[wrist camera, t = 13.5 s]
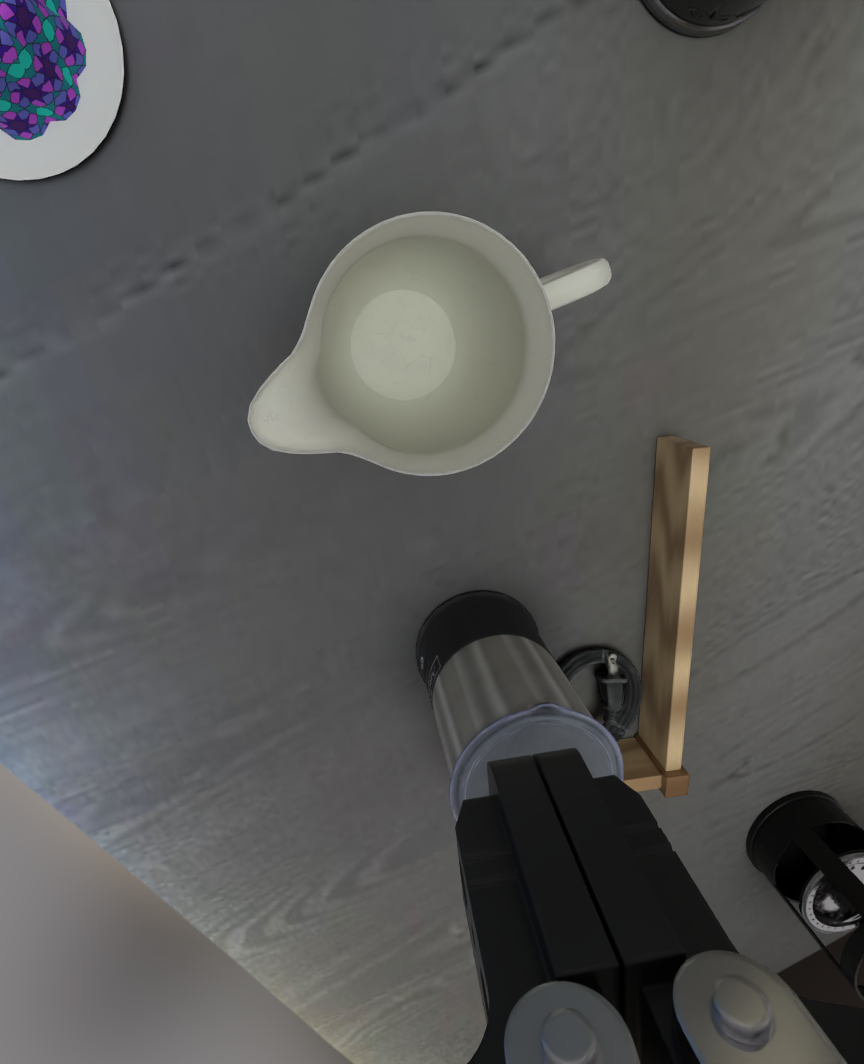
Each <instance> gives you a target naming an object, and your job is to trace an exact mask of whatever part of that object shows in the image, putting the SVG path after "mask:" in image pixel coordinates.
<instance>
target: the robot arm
mask: <svg viewBox="0 0 864 1064" xmlns="http://www.w3.org/2000/svg"><path fill="white" fill-rule="evenodd" d="M643 1H644V3H645V5H646V6H647V7H648V9H649V10H650V11H651V12H652V14H653V15H654V16H655V17H656V18H657V19H658V20H660V21H661V22H662V23H663V24H665V25H666V26H668V27H669V28H671V29H673V30H675V31H677V32H679V33H682V34H685V35H689V36H696V37H706V36H713V35H718V34H721V33H724V32H727V31H729V30H731V29H733V28H735V27H736V26H738V25H740V24H741V23H742V22H744V21H745V20H747V19H748V18H749V17H750V16H752V15H753V14H754V13H755V12H757V11H758V10H759V9H760V8H761V7H762V6H763V5H764V4H765V3H766V2H767V1H768V0H643ZM487 775H488V787H489V796H484V797H478V798H472V799H466V800H463V802H462V806H461V809H460V813H459V816H458V820H457V823H456V827H455V829H456V838H457V847H458V856H459V865H460V874H461V883H462V892H463V900H464V905H465V911H466V916H467V921H468V927H469V931H470V937H471V942H472V948H473V953H474V958H475V963H476V969H477V974H478V980H479V985H480V990H481V995H482V1001H483V1006H484V1011H485V1017H486V1022H487V1027H486V1030H485V1034H484V1037H483V1039H482V1041H481V1043H480V1045H479V1048H478V1050H477V1051H476V1053H475V1054H474V1056H473V1057H472V1059H471V1060H470V1061H469V1062H468V1063H467V1064H864V1009H863V1008H857V1007H850V1006H844V1005H838V1004H831V1003H825V1002H820V1001H815V1000H810V999H807V998H804V997H801V996H798V995H796V994H795V993H794V992H793V990H792V989H791V988H790V987H789V986H788V984H787V983H785V982H784V981H783V980H782V979H781V978H780V977H779V976H778V975H777V974H776V973H774V972H773V971H772V970H770V969H769V968H768V967H766V966H764V965H763V964H761V963H759V962H758V961H756V960H754V959H751V958H749V957H747V956H745V955H741V954H739V953H738V951H737V950H736V948H735V947H734V945H733V944H732V943H731V941H730V939H729V938H728V936H727V935H726V933H725V931H724V930H723V928H722V927H721V925H720V923H719V922H718V920H717V918H716V917H715V915H714V914H713V912H712V910H711V909H710V907H709V905H708V904H707V902H706V901H705V899H704V897H703V896H702V894H701V893H700V891H699V889H698V888H697V886H696V884H695V883H694V881H693V880H692V878H691V876H690V875H689V873H688V871H687V870H686V868H685V867H684V865H683V863H682V862H681V860H680V858H679V857H678V855H677V854H676V852H675V851H673V850H672V847H671V844H670V842H669V841H668V839H667V837H666V836H665V834H664V833H663V831H662V829H661V828H659V827H658V825H657V821H656V820H655V818H654V816H653V815H652V813H651V812H650V810H649V808H648V807H647V805H646V803H645V802H644V800H643V799H642V797H641V795H639V794H638V793H637V792H636V791H634V790H633V789H632V788H631V787H629V786H628V785H627V784H625V783H624V782H623V781H622V780H620V779H619V778H618V777H617V776H615V775H609V776H603V777H597V778H593V777H592V775H591V773H590V771H589V769H588V767H587V765H586V763H585V762H584V760H583V758H582V756H581V754H580V752H579V751H578V750H577V749H576V748H569V749H563V750H557V751H550V752H544V753H538V754H533V755H532V756H531V755H525V756H519V757H513V758H507V759H501V760H495V761H489V762H487Z"/></svg>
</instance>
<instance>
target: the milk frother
mask: <svg viewBox="0 0 864 1064" xmlns="http://www.w3.org/2000/svg"><path fill="white" fill-rule="evenodd" d="M416 661H417V666H418V670H419V673H420V675H421V677H422V679H423V681H424V682H425V684H426V685H427V689H428V692H429V696H430V701H431V705H432V709H433V712H434V716H435V721H436V725H437V729H438V733H439V737H440V740H441V744H442V748H443V752H444V756H445V760H446V764H447V768H448V772H449V776H450V786H449V799H450V806H451V810H452V814H453V817H454V819H455V821H456V823H457V820H458V816H459V813H460V809H461V806H462V802H463V800H466V799H472V798H478V797H484V796H489V787H488V775H487V762H489V761H495V760H501V759H507V758H513V757H519V756H525V755H531V756H532V755H533V754H538V753H544V752H550V751H557V750H563V749H569V748H576V749H577V750H578V751H579V752H580V754H581V756H582V758H583V760H584V762H585V763H586V765H587V767H588V769H589V771H590V773H591V775H592V777H593V778H597V777H603V776H609V775H615V776H617V777H618V778H619V779H620V780H622V781H623V774H624V768H623V760H622V754H621V752H620V748H619V746H618V744H617V742H618V741H619V740H620V739H621V738H622V737H623V736H624V735H625V733H626V732H627V731H628V730H629V729H630V726H631V725H632V724H633V722H634V720H635V718H636V716H637V714H638V711H639V708H640V704H641V700H642V685H641V680H640V677H639V674H638V671H637V670H636V668H635V666H634V665H633V664H632V663H631V661H630V660H629V659H627V658H626V657H625V656H623V655H621V654H620V653H618V652H615V651H613V650H609V649H602V648H600V649H588V650H584V651H580V652H577V653H575V654H572V655H571V656H569V657H568V658H567V659H566V660H565V661H563V662H562V663H561V664H560V665H559V666H558V664H557V663H556V661H555V660H554V658H553V657H552V655H551V654H550V652H549V651H548V649H547V647H546V646H545V644H544V643H543V641H542V639H541V638H540V636H539V632H538V628H537V625H536V622H535V621H534V619H533V617H532V616H531V614H530V613H529V612H528V610H527V609H526V608H525V607H524V606H523V605H522V604H520V603H519V602H518V601H516V600H515V599H513V598H511V597H509V596H506V595H503V594H500V593H496V592H490V591H479V592H471V593H467V594H463V595H460V596H457V597H455V598H453V599H451V600H449V601H448V602H446V603H444V604H443V605H441V606H440V607H439V608H438V609H436V610H435V611H434V612H433V613H432V614H431V616H430V617H429V618H428V619H427V621H426V622H425V624H424V626H423V628H422V629H421V632H420V634H419V637H418V641H417V646H416ZM597 663H604V664H605V665H606V667H607V670H608V672H605V673H595V677H596V678H597V679H598V680H599V688H600V693H601V697H602V700H601V701H600V704H601V705H602V706H603V707H604V716H603V719H604V721H605V722H604V724H603V725H602V724H601V723H599V722H598V721H597V720H595V719H594V718H593V717H592V715H591V714H590V712H589V711H588V709H587V708H586V706H585V705H584V703H583V702H582V700H581V699H580V697H579V696H578V694H577V693H576V691H575V690H574V688H573V687H572V685H571V684H570V682H569V681H570V680H571V678H572V677H573V676H574V675H575V674H576V673H578V672H579V671H580V670H582V669H583V668H584V667H587V666H589V665H592V664H597ZM623 683H625V694H624V702H623V705H622V704H621V703H622V697H623Z"/></svg>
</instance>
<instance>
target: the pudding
mask: <svg viewBox="0 0 864 1064" xmlns="http://www.w3.org/2000/svg"><path fill="white" fill-rule="evenodd" d="M123 78H124V63H123V47H122V42H121V38H120V33H119V28H118V23H117V20H116V18H115V15H114V12H113V9H112V7H111V4H110V1H109V0H0V178H2V179H10V180H33V179H42V178H46V177H50V176H53V175H57V174H60V173H62V172H64V171H66V170H68V169H70V168H72V167H74V166H76V165H78V164H79V163H80V162H82V161H83V160H84V159H85V158H87V157H88V156H89V155H90V154H91V153H93V152H94V150H95V149H96V148H97V147H98V145H99V144H100V143H101V142H102V140H103V139H104V138H105V137H106V135H107V133H108V131H109V129H110V127H111V125H112V123H113V121H114V119H115V117H116V114H117V110H118V107H119V103H120V100H121V97H122V88H123Z"/></svg>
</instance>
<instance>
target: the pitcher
mask: <svg viewBox="0 0 864 1064" xmlns="http://www.w3.org/2000/svg"><path fill="white" fill-rule="evenodd" d="M611 276H612V274H611V269H610V266H609V263H608V261H606V260H605V259H604V258H598V259H592V260H588V261H585V262H582V263H579V264H576V265H573V266H570V267H568V268H565V269H562V270H560V271H557V272H555V273H552V274H550V275H547V276H545V277H542V278H540V279H539V277H538V275H537V274H536V272H535V270H534V269H533V267H532V266H531V265H530V263H529V262H528V260H527V259H526V258H525V256H524V255H523V254H522V253H521V252H520V251H519V250H518V249H517V248H516V247H515V246H514V245H513V244H512V243H511V242H510V241H509V240H507V239H506V238H505V237H504V236H502V235H501V234H500V233H498V232H497V231H495V230H493V229H492V228H490V227H488V226H487V225H485V224H483V223H480V222H478V221H476V220H473V219H471V218H469V217H465V216H461V215H457V214H453V213H445V212H436V211H430V212H415V213H409V214H404V215H399V216H396V217H393V218H391V219H388V220H385V221H382V222H380V223H378V224H376V225H375V226H373V227H371V228H369V229H367V230H366V231H364V232H363V233H361V234H360V235H359V236H357V237H356V238H354V239H353V240H352V241H351V242H350V243H349V244H348V245H347V246H346V247H345V248H343V249H342V250H341V251H340V252H339V254H338V255H337V256H336V257H335V259H334V260H333V261H332V262H331V264H330V265H329V266H328V268H327V270H326V271H325V273H324V275H323V276H322V278H321V280H320V281H319V284H318V286H317V288H316V291H315V293H314V296H313V298H312V301H311V304H310V308H309V311H308V314H307V318H306V321H305V325H304V328H303V331H302V334H301V336H300V338H299V341H298V343H297V345H296V347H295V348H294V350H293V352H292V354H291V355H290V356H289V357H287V358H286V359H285V360H284V361H283V362H282V363H281V364H280V365H279V366H278V367H277V369H276V370H275V371H274V372H273V373H272V374H271V375H270V376H269V377H268V379H267V380H266V381H265V382H264V384H263V385H262V386H261V387H260V388H259V390H258V392H257V393H256V395H255V397H254V399H253V400H252V402H251V404H250V406H249V413H248V423H249V426H250V430H251V433H252V434H253V435H254V437H255V438H256V439H257V441H258V442H259V443H260V444H262V445H264V446H266V447H267V448H269V449H271V450H273V451H279V452H285V453H291V454H323V453H335V452H339V453H345V454H350V455H354V456H357V457H360V458H363V459H365V460H368V461H370V462H372V463H375V464H377V465H380V466H382V467H384V468H387V469H390V470H393V471H397V472H400V473H404V474H410V475H417V476H438V475H448V474H452V473H457V472H461V471H465V470H467V469H470V468H473V467H475V466H478V465H480V464H482V463H484V462H486V461H488V460H489V459H491V458H493V457H494V456H496V455H497V454H499V453H500V452H502V451H503V450H504V449H506V448H507V447H508V446H509V445H510V444H511V443H512V442H514V441H515V440H516V439H517V438H518V437H519V435H520V434H521V433H522V432H523V431H524V430H525V429H526V428H527V426H528V425H529V423H530V422H531V420H532V419H533V417H534V416H535V414H536V413H537V411H538V409H539V407H540V405H541V403H542V401H543V399H544V396H545V394H546V391H547V389H548V386H549V383H550V379H551V375H552V371H553V365H554V357H555V330H554V321H553V316H552V310H555V309H557V308H560V307H562V306H565V305H567V304H570V303H572V302H574V301H577V300H579V299H581V298H583V297H585V296H588V295H590V294H592V293H593V292H595V291H597V290H599V289H600V288H602V287H604V286H605V285H607V284H608V283H609V282H610V279H611Z"/></svg>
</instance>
